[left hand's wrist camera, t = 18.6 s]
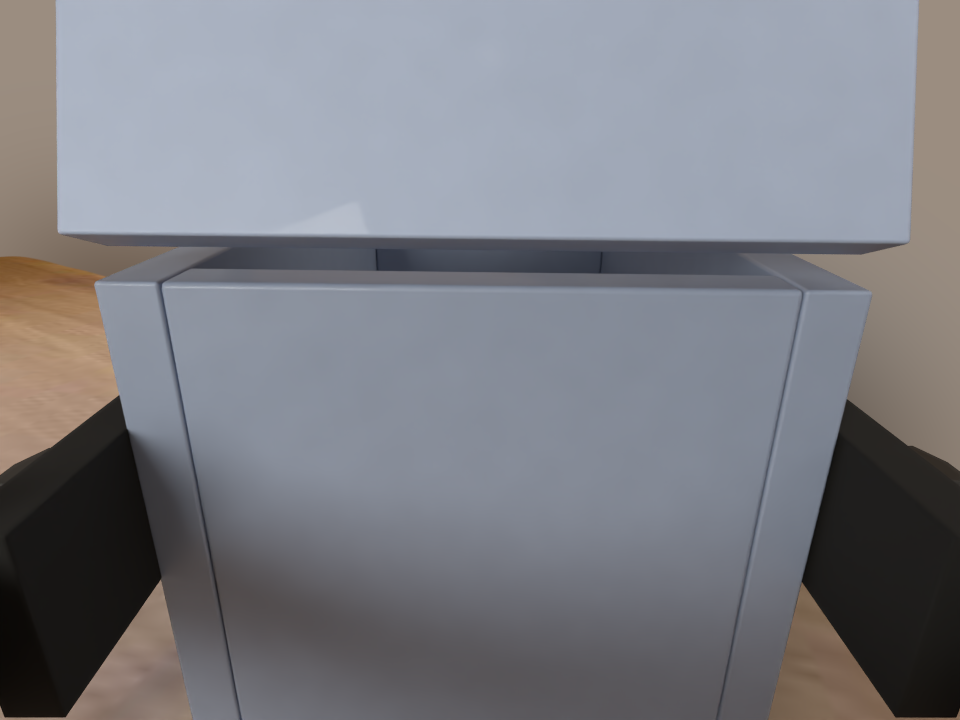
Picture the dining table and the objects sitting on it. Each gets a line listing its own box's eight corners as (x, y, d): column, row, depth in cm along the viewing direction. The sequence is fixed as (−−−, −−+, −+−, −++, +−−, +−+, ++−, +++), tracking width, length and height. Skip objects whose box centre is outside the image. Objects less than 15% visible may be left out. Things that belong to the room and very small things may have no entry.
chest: (368, 423, 27) (352, 174, 23) (605, 427, 27) (628, 177, 23) (210, 805, 12) (90, 281, 8) (745, 821, 12) (876, 290, 8)
